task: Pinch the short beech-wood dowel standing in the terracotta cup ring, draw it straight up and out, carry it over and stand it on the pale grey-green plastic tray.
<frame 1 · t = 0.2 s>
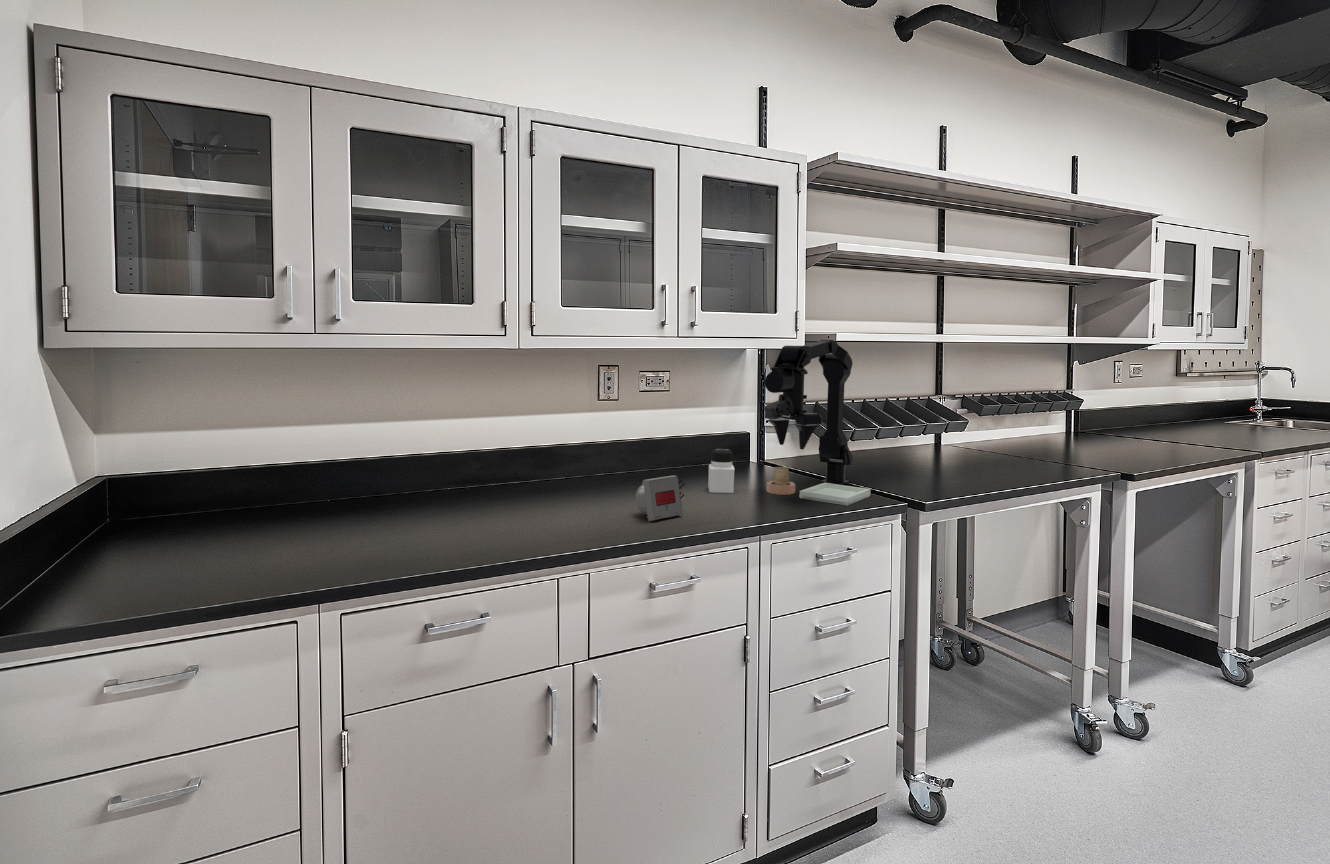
hand: (791, 446, 195), 14 cm above the worktop, fingers open, 9 cm apart
voltmeter: (668, 511, 177), on the worktop
cup ring: (780, 491, 202), on the worktop
tray: (835, 497, 196), on the worktop
medicine bottle: (721, 491, 202), on the worktop
dowel: (781, 480, 201), in the cup ring
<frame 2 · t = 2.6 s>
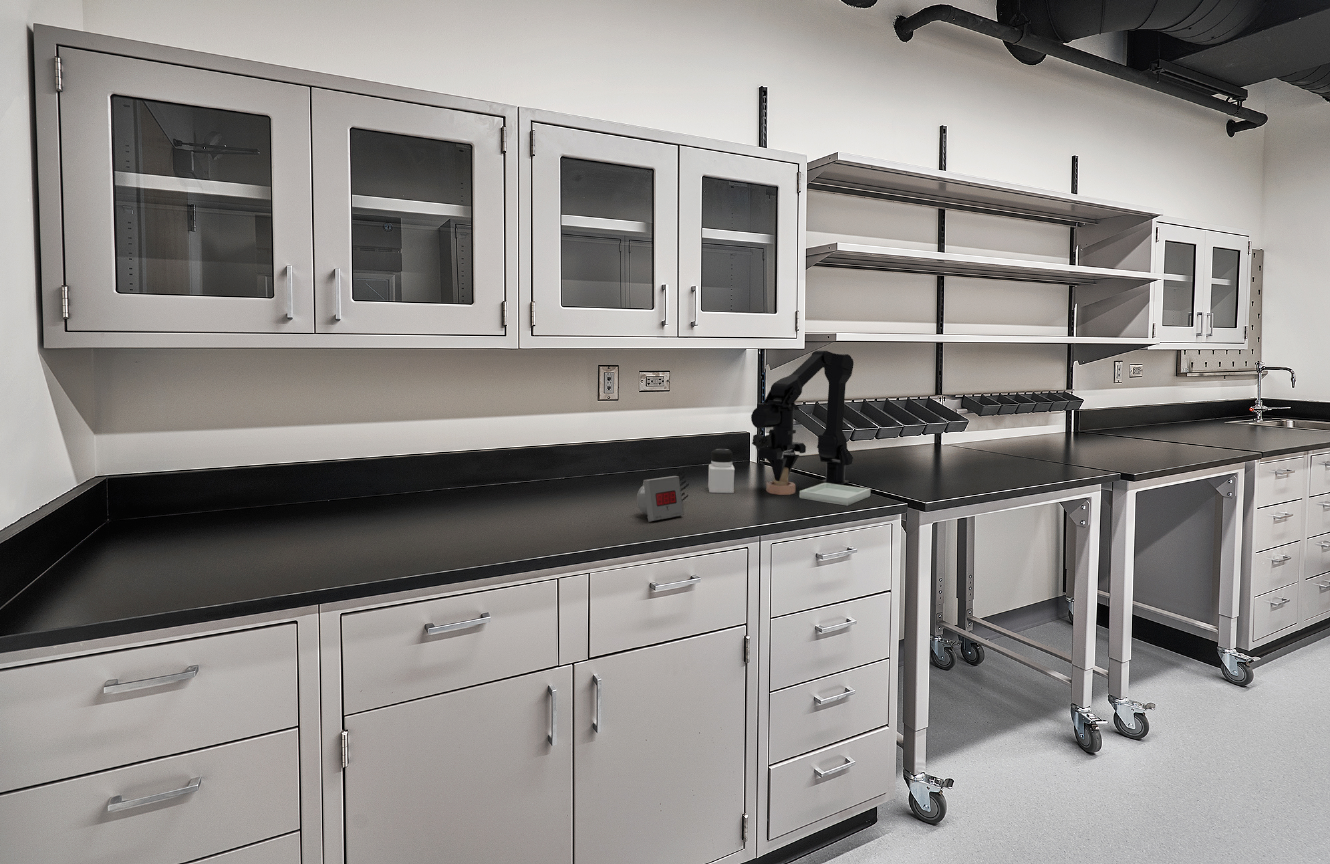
hand: (781, 479, 201), 4 cm above the worktop, fingers closed on dowel, 4 cm apart
dowel: (781, 479, 201), in the cup ring, touching gripper
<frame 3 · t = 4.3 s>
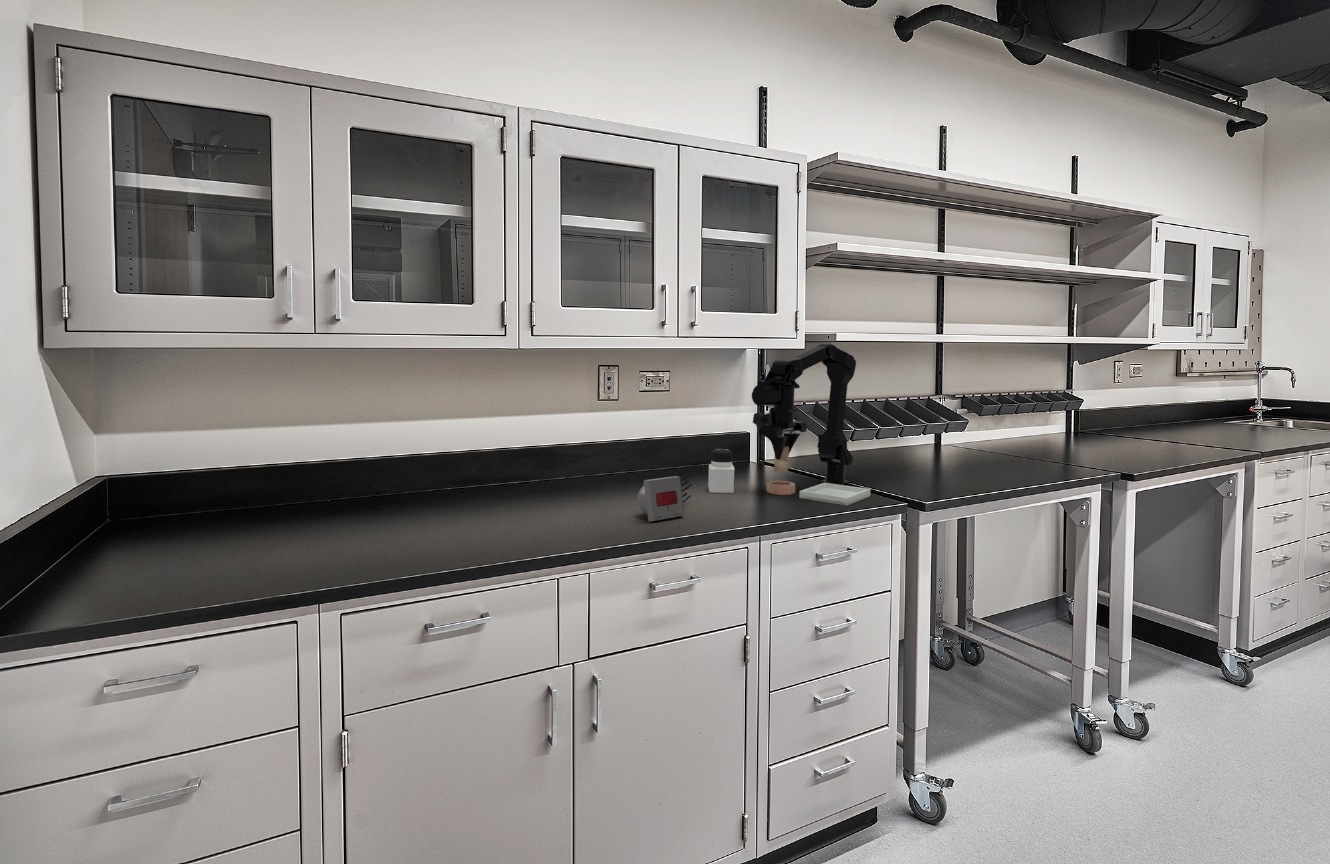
hand: (781, 458, 200), 10 cm above the worktop, fingers closed on dowel, 4 cm apart
dowel: (781, 458, 200), point 10 cm above the worktop, touching gripper
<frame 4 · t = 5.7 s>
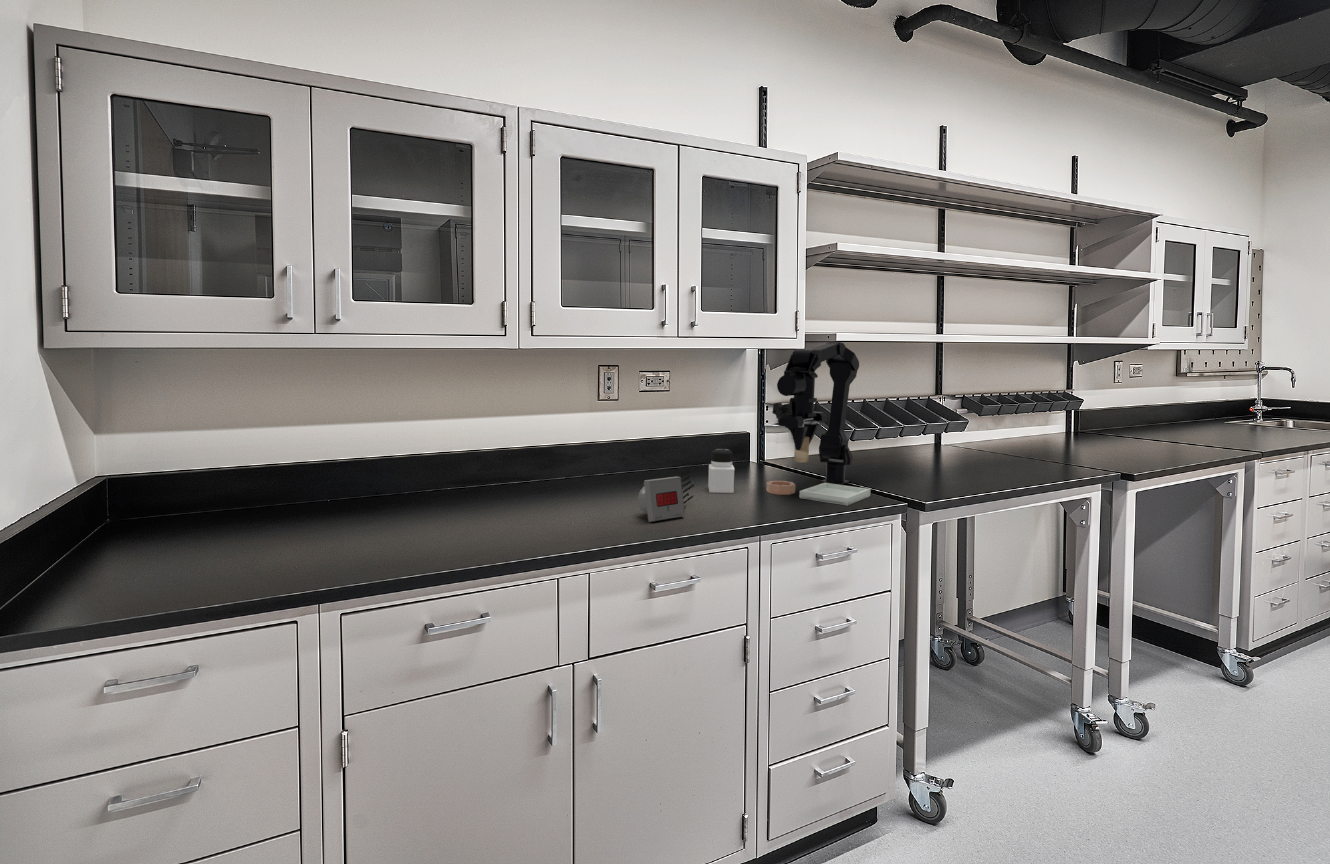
hand: (801, 449, 198), 13 cm above the worktop, fingers closed on dowel, 4 cm apart
dowel: (801, 449, 198), point 13 cm above the worktop, touching gripper
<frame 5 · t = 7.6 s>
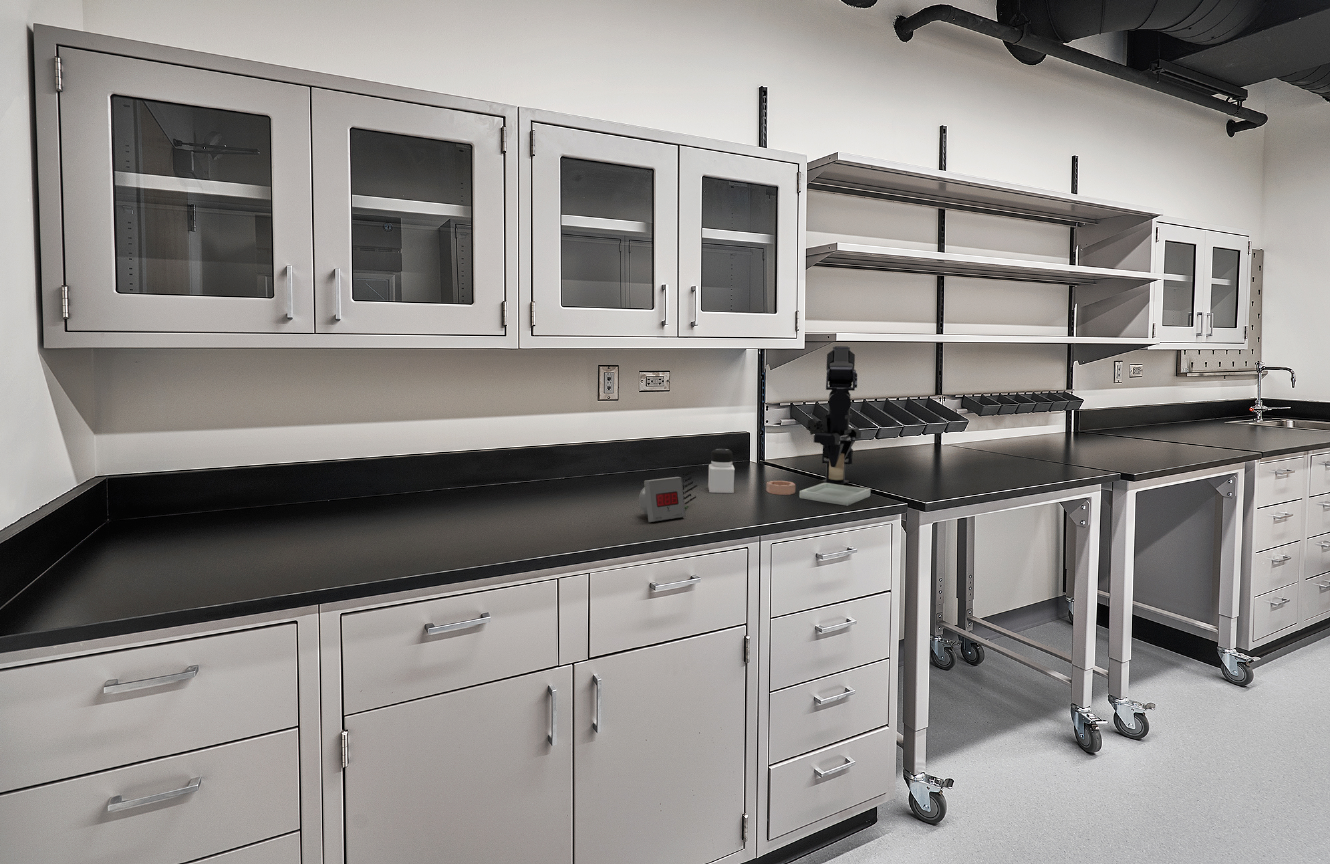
hand: (836, 466, 195), 9 cm above the worktop, fingers closed on dowel, 4 cm apart
dowel: (836, 466, 195), point 9 cm above the worktop, touching gripper
when the fingers open (6 cm above the worktop, at t = 9.0 s): dowel drops 1 cm, resting on tray.
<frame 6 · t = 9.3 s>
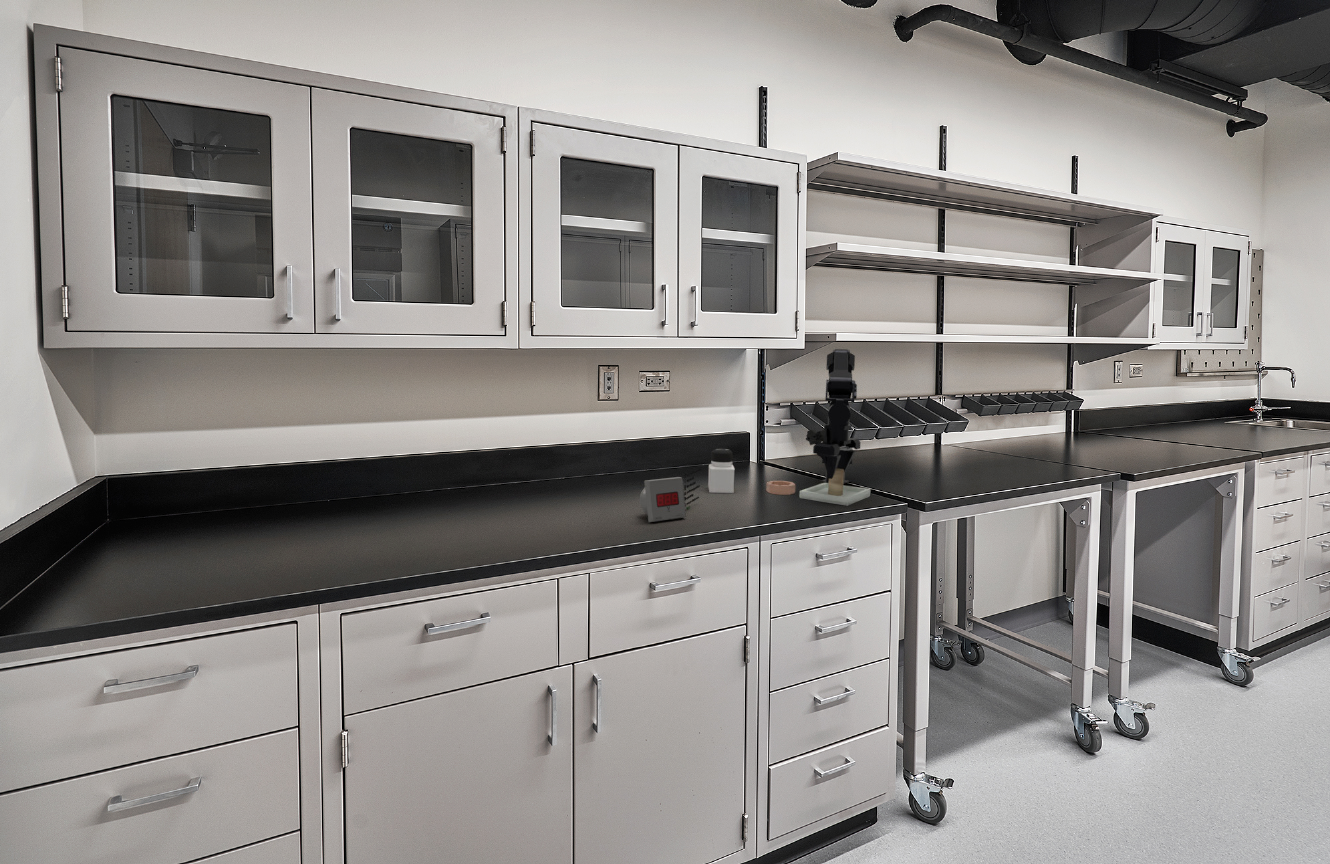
hand: (836, 476, 195), 6 cm above the worktop, fingers open, 7 cm apart
dowel: (835, 481, 195), in the tray, point 4 cm above the worktop
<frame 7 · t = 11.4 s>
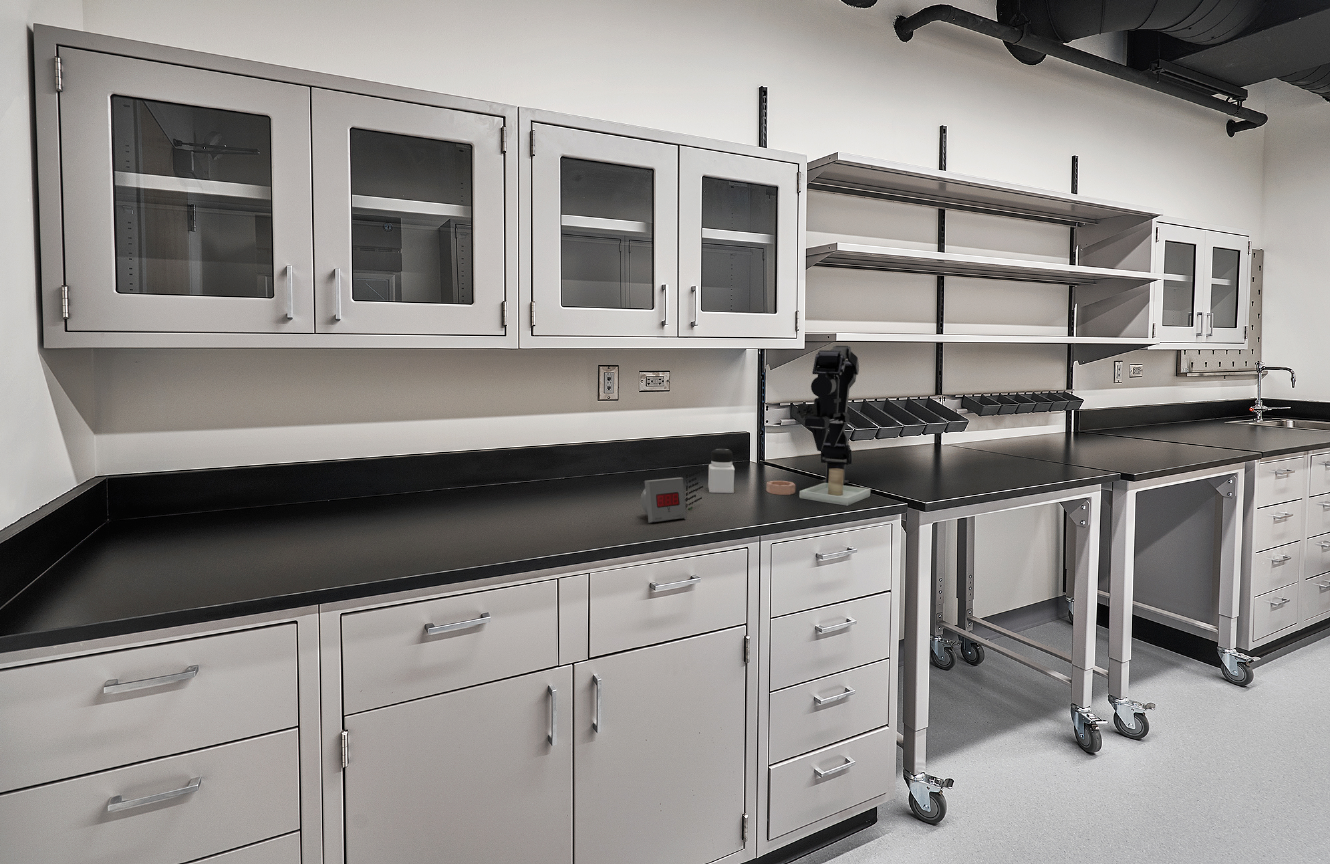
hand: (826, 449, 200), 13 cm above the worktop, fingers open, 9 cm apart
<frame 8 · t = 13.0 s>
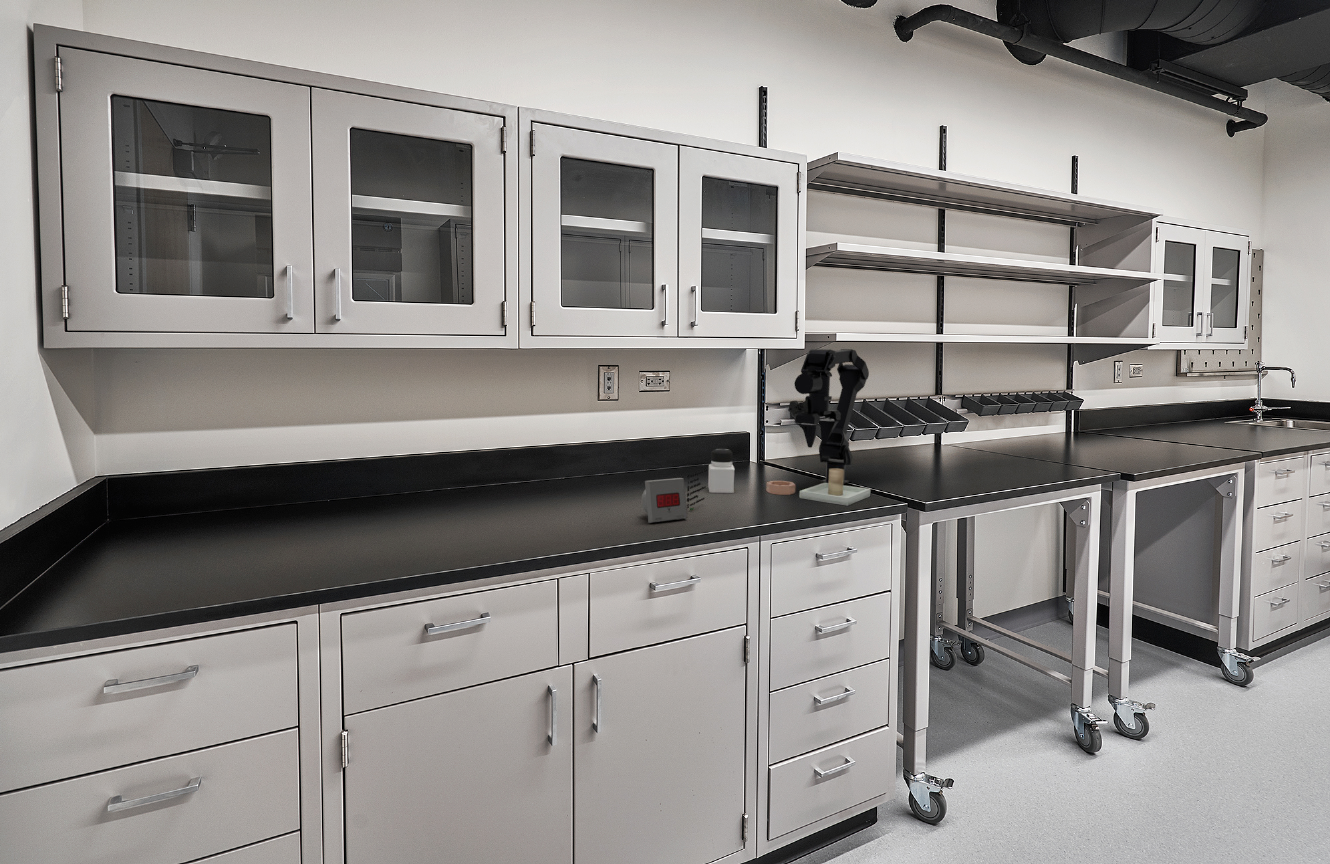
hand: (816, 445, 204), 13 cm above the worktop, fingers open, 9 cm apart
at the end: dowel inside the target area on the tray (0.1 cm from its centre), point 4.3 cm above the tray's base; dowel tilted 0°; the gripper is holding nothing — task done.
